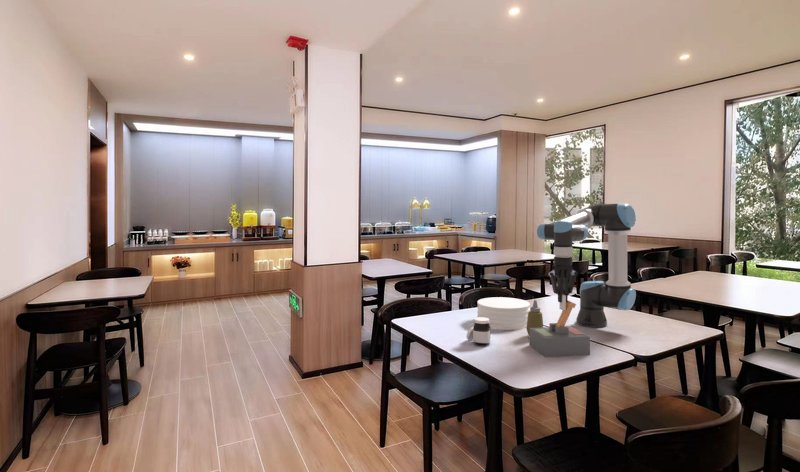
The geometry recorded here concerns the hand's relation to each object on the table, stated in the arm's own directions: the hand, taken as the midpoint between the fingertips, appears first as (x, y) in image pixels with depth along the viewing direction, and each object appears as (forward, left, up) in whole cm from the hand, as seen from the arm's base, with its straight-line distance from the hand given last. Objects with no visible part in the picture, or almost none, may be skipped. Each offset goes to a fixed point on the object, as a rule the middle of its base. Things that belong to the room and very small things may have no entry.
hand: (562, 309), depth 186 cm
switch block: (+2, 0, -18) cm, 18 cm away
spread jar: (+34, -15, -18) cm, 41 cm away
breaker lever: (+2, 0, -10) cm, 10 cm away
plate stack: (+10, -47, -19) cm, 51 cm away
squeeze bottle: (+4, -20, -18) cm, 27 cm away
